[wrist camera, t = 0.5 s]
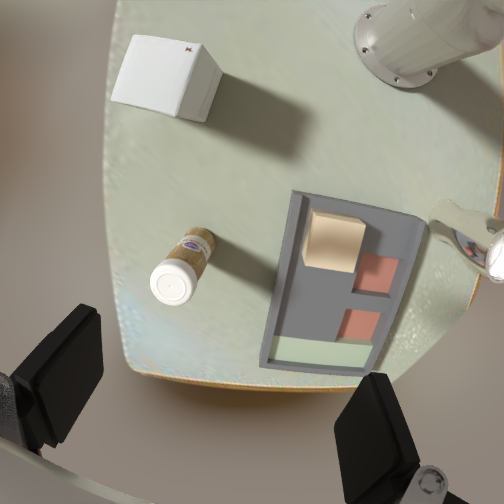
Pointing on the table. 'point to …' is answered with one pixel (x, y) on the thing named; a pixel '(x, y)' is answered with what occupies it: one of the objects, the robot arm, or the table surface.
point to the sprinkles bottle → (183, 268)
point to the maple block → (332, 240)
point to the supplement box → (168, 77)
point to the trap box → (338, 292)
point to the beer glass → (471, 237)
